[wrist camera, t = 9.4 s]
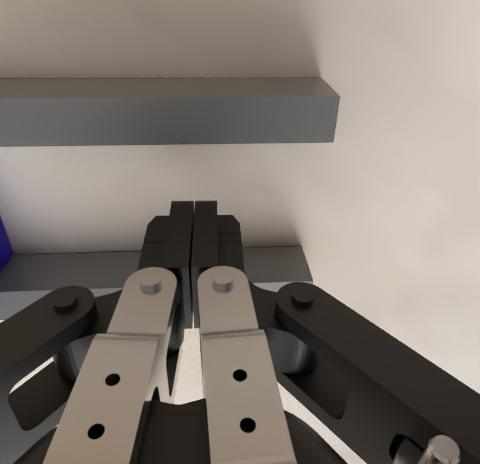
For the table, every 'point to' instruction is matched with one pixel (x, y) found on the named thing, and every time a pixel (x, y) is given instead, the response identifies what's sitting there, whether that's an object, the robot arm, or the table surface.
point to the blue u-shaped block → (4, 247)
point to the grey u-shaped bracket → (155, 133)
